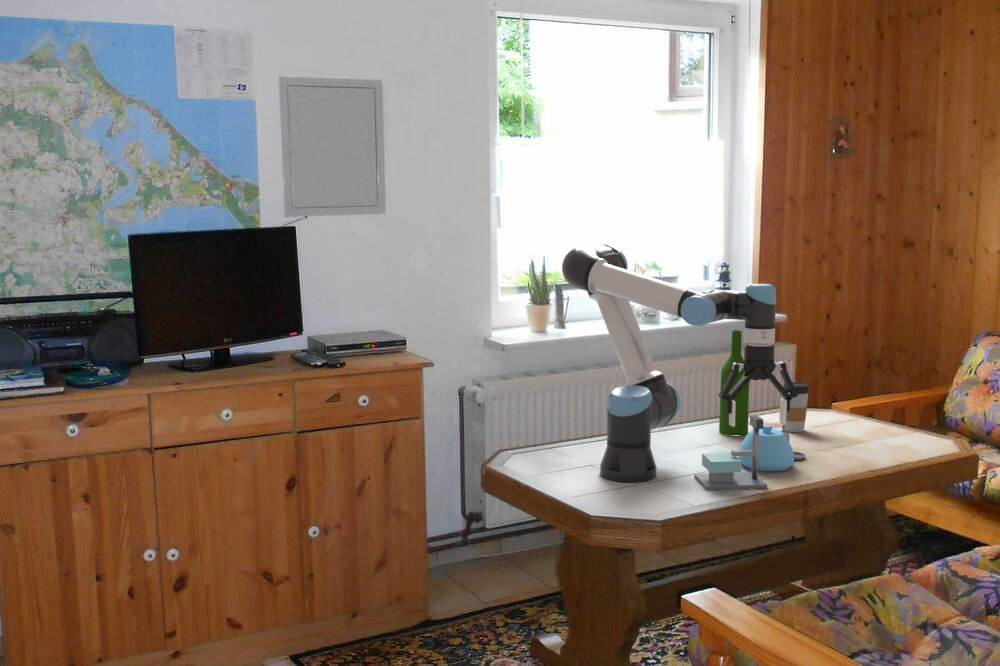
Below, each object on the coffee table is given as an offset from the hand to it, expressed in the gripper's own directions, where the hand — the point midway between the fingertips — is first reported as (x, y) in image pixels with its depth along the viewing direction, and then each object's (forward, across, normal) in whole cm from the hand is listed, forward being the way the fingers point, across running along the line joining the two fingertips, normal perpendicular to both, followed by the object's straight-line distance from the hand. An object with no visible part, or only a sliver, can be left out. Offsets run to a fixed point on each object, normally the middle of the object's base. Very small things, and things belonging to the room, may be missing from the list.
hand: (757, 424), depth 256 cm
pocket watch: (+16, +18, +23) cm, 34 cm away
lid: (+12, -9, 0) cm, 15 cm away
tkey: (+14, -3, 0) cm, 15 cm away
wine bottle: (+16, +11, +52) cm, 56 cm away
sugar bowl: (+16, +8, +15) cm, 23 cm away
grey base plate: (+16, -7, 0) cm, 17 cm away
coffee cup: (+16, +31, +53) cm, 64 cm away
